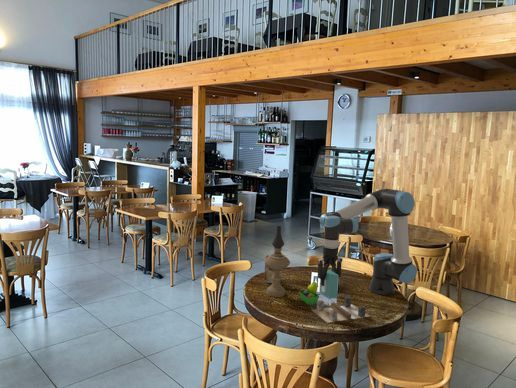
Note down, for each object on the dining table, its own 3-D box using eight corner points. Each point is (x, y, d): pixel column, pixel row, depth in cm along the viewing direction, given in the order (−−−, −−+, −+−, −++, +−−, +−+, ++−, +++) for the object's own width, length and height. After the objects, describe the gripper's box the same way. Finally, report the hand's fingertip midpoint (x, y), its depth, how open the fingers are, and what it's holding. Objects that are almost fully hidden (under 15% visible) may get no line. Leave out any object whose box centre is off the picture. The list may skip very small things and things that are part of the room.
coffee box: (280, 281, 260) (281, 256, 258) (277, 284, 254) (279, 259, 252) (266, 279, 263) (267, 255, 261) (263, 282, 257) (264, 257, 255)
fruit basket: (297, 299, 232) (298, 279, 230) (311, 297, 235) (312, 278, 233) (307, 306, 221) (308, 286, 220) (321, 305, 224) (322, 285, 223)
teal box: (327, 291, 214) (329, 269, 212) (337, 297, 206) (338, 274, 204) (319, 292, 212) (320, 270, 211) (328, 298, 204) (329, 275, 202)
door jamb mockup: (352, 305, 226) (353, 295, 225) (370, 317, 211) (371, 306, 210) (311, 310, 216) (311, 300, 215) (327, 323, 201) (327, 313, 201)
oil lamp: (283, 288, 248) (287, 223, 243) (292, 297, 234) (295, 229, 228) (260, 289, 244) (262, 224, 239) (266, 299, 230) (270, 229, 224)
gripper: (341, 243, 212) (339, 286, 216) (311, 246, 206) (309, 290, 209) (350, 247, 205) (347, 291, 209) (319, 250, 199) (316, 295, 202)
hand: (328, 290), depth 209 cm, fingers closed on teal box, 5 cm apart
